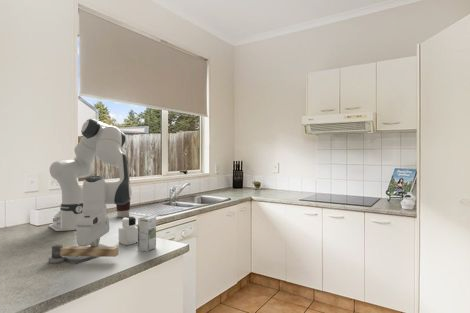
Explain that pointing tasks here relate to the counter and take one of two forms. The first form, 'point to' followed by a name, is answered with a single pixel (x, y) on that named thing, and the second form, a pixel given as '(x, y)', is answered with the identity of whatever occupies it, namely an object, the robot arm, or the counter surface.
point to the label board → (72, 258)
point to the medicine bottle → (128, 231)
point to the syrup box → (146, 233)
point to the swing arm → (84, 251)
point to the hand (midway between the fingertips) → (94, 249)
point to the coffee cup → (123, 209)
